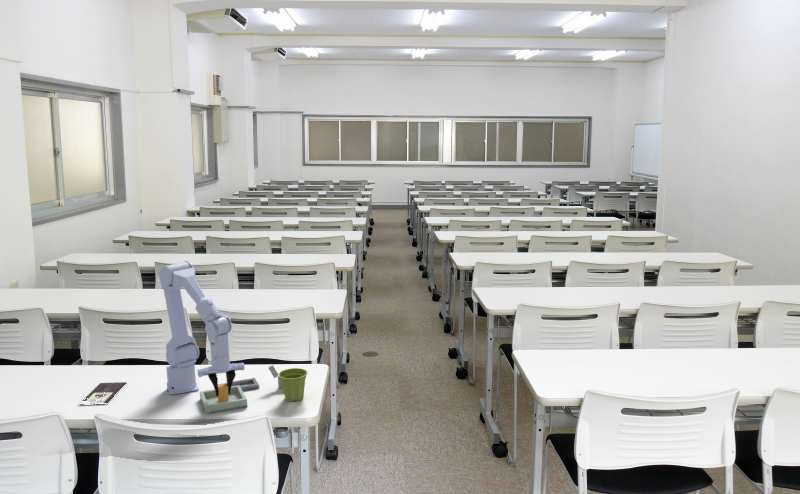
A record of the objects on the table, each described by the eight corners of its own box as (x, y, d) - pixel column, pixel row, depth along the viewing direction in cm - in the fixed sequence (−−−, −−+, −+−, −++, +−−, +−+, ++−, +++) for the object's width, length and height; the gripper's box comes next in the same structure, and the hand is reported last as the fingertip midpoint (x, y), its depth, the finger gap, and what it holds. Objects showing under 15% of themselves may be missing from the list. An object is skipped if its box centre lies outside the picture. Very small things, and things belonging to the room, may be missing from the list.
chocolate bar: (126, 382, 242) (107, 403, 224) (126, 384, 242) (107, 405, 224) (100, 382, 242) (78, 403, 224) (100, 385, 242) (79, 406, 224)
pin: (219, 403, 222) (218, 387, 221) (218, 400, 225) (216, 384, 224) (228, 402, 223) (227, 386, 222) (227, 398, 226) (226, 382, 225)
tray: (205, 414, 216) (205, 406, 215) (200, 399, 227) (199, 391, 227) (247, 406, 221) (246, 399, 220) (239, 392, 232) (239, 385, 232)
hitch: (231, 392, 232) (231, 389, 232) (228, 385, 239) (228, 382, 238) (259, 388, 236) (258, 384, 236) (255, 381, 242) (254, 377, 242)
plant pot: (295, 406, 221) (294, 380, 219) (273, 400, 226) (272, 375, 224) (314, 395, 229) (313, 371, 227) (292, 390, 233) (291, 366, 232)
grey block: (291, 386, 237) (289, 364, 236) (290, 388, 236) (289, 365, 234) (270, 386, 237) (269, 364, 235) (269, 388, 235) (268, 366, 234)
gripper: (198, 361, 215) (201, 402, 217) (245, 354, 220) (247, 394, 223) (195, 354, 221) (198, 394, 223) (241, 347, 226) (243, 386, 229)
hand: (222, 393), depth 223 cm, fingers closed on pin, 3 cm apart
